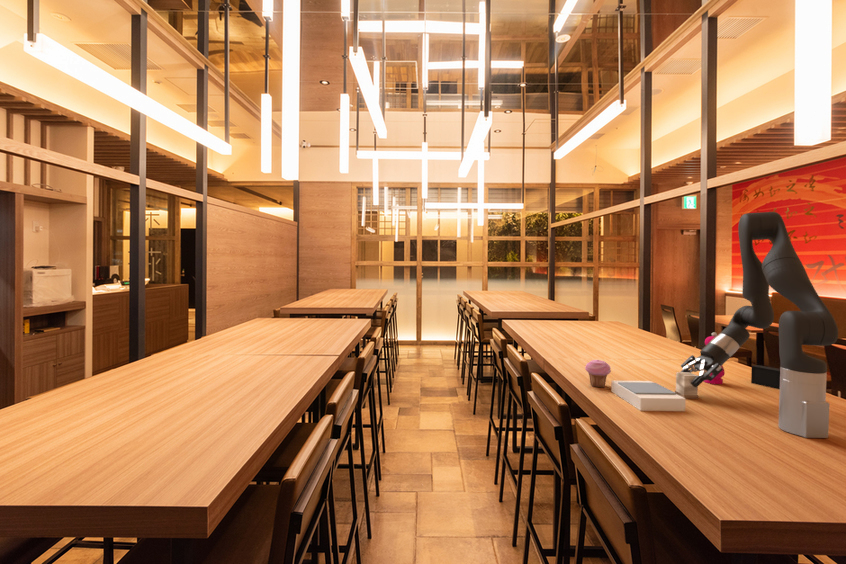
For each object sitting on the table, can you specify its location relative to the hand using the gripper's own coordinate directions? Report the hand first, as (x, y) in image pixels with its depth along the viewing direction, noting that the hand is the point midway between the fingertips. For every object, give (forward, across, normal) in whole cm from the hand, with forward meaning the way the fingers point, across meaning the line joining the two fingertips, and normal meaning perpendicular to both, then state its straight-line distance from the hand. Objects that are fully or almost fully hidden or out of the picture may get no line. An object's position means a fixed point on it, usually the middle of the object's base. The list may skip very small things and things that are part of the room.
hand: (685, 382), depth 140 cm
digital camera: (-26, -14, +34) cm, 45 cm away
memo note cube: (+3, 0, +4) cm, 5 cm away
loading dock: (+15, +5, -8) cm, 18 cm away
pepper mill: (-12, -18, +20) cm, 29 cm away
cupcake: (+22, -12, -14) cm, 29 cm away
